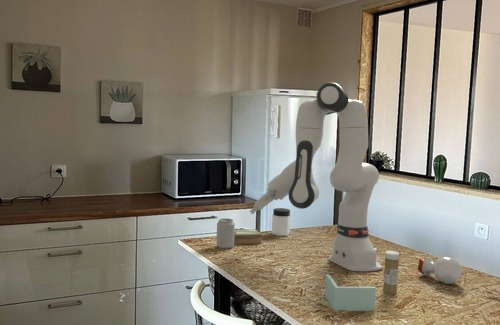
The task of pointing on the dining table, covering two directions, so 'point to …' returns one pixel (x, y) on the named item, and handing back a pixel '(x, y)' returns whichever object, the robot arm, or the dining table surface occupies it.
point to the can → (225, 233)
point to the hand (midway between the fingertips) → (254, 210)
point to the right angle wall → (349, 296)
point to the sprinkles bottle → (391, 272)
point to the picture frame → (247, 236)
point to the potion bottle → (441, 269)
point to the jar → (281, 222)
